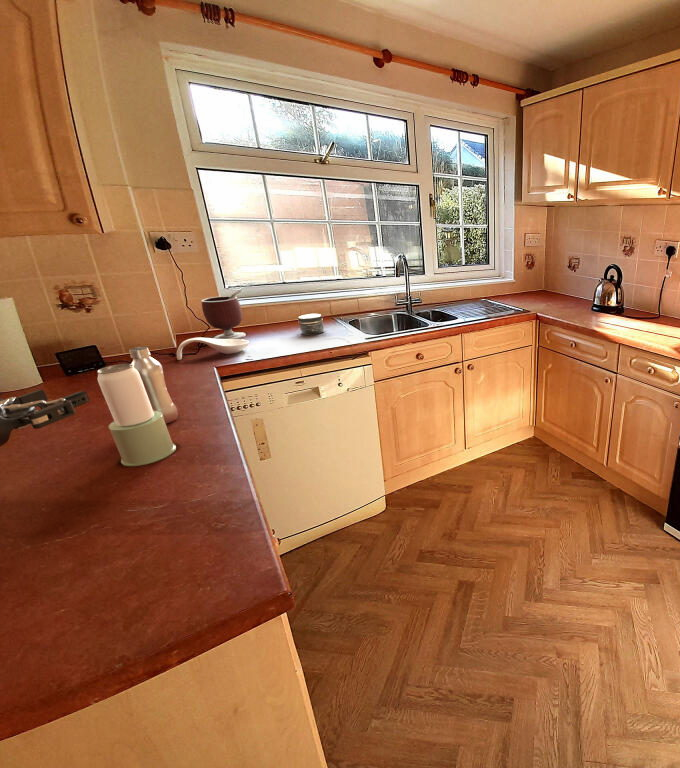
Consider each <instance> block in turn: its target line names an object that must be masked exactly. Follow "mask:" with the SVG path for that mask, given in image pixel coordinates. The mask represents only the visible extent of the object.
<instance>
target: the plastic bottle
mask: <svg viewBox="0 0 680 768" xmlns="http://www.w3.org/2000/svg"><path fill="white" fill-rule="evenodd" d="M128 352H129V355H130V359H132V361H131V363H130V364H133V367H134V368H135V369H136V370H137V371H138V372H139V374H140V377H141V380H142V382H143V385H144V388H145V390H146V393H147V396H148V398H149V401H150V404H151V407H152V409H153V411H158V412H161V413H162V415H163V417H164V420H165V423H166V425H167V424H169V423H170V424H171V423H172V422H175V421H176V420H177V419H178V416H179V414H178V413H179V412H178V408H177V406H176V404H175V403H174V402H173V400H172V398H171V395H170V394H169V391H168V389H167V385H166V381H165V375H164V370H163V369H164V368H163V365H162V364H161V363H160V362H159V361H158V360H156V359H155V358H153V357H152V356H151V352H150V350H149V347H148V346H138V347H134V348H130V349H129V350H128Z"/></svg>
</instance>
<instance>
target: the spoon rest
mask: <svg viewBox="0 0 680 768" xmlns="http://www.w3.org/2000/svg"><path fill="white" fill-rule="evenodd" d="M192 343H202V344H205V345H207V346H209V347H210V348H212V349H214V350H216V351H218V352H220V353H222V354H224V355H230V354H231V355H233V354H238V353H240V352H242V351H243V350H245V349H246V348H247V347H248V345H249V344H250V342H249V340H247V339H243V338H240V339H213V337H191V338H188V339H186V340H184V341H182V342H181V343H180V344H179V346H178V348H177V350H176V359H177V360H178V361H181V360H182V359H183V349H184V347H186V346H187V345H189V344H192Z"/></svg>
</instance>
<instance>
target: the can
mask: <svg viewBox="0 0 680 768" xmlns="http://www.w3.org/2000/svg"><path fill="white" fill-rule="evenodd" d="M96 373H97V383H98V385H99V387H100V390H101V392H102V395H103V397H104V400H105V402H106V404H107V407H108V409H109V412H110V414H111V417H112V419H113V422H114V421H115V423H116V425H118V426H121V427H129V426H135V425H139V424H142V423H145V422H147V421H149V420H151V419H152V418H153V416H154V412H153V409H152V407H151V404H150V401H149V398H148V396H147V393H146V390H145V388H144V385H143V382H142V380H141V377H140V374H139V372H138V371H137V370H136V369H135V368H134V367H133V364H131V363H119V364H113V365H109V366H105V367H101V368H100V369H98V370H97V371H96Z"/></svg>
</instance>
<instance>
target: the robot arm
mask: <svg viewBox="0 0 680 768" xmlns="http://www.w3.org/2000/svg"><path fill="white" fill-rule="evenodd" d="M89 402H90V397H89V395H88V393H87V392H86V391H84V390H80V391H76V392H74V393H71V394H68V395H65V396H63V397H61V398H57V399H52V400H48V396H47V394H46V392H45V390H43V389H36V390H33V391H31V392H28V393H25V394H22V395H19V396H17V397H16V396H11V397H8V398H5V399H3V397H2V398H0V447H2V446H4V445H6V444H7V443H8V442H9V440H10V437H11V433H12V432H13V431H14V430H15V431H16V430H21V429H25V428H28V427H29V426H32V428H33V429H34V430H37V429H38V430H39V429H42V428H43V427H47V426H50V425H52V424H54V423H56V422H59V421H61V420H64V419H66V418H69V417H71V416H74V415H76V413H77V412H76V409H75V408H77V407H80V406H83V405H85V404H87V403H89ZM36 407H38V408H40V409H38V410H37V409H36Z"/></svg>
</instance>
